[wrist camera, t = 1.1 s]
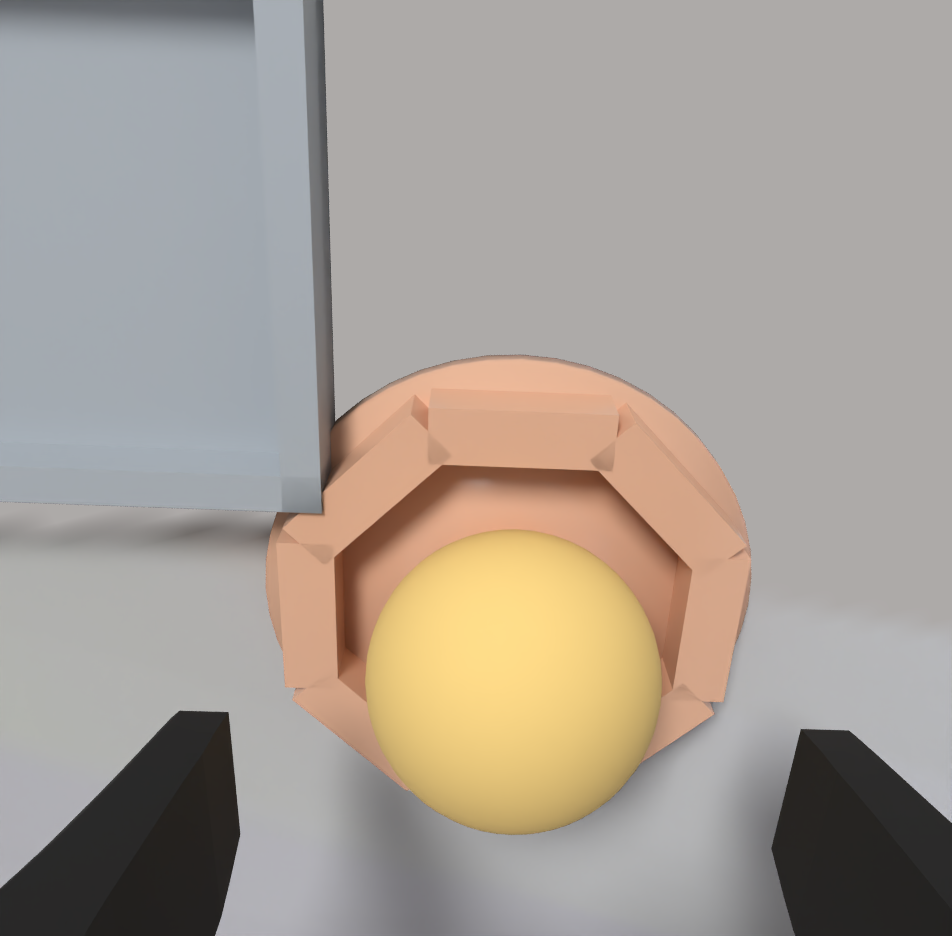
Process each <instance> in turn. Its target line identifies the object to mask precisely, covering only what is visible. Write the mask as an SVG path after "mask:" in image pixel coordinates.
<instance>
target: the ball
mask: <svg viewBox="0 0 952 936" xmlns="http://www.w3.org/2000/svg"><path fill="white" fill-rule="evenodd" d="M365 687H366V698H367V706H368V713H369V716H370V720H371V724H372V727H373V730H374V733H375V736H376V739H377V741H378V743H379V746H380V748H381V750H382V752H383V754H384V756H385V757H386V759H387V760H388V762H389V764H390V765H391V767H392V768H393V770H394V772H395V773H396V775H397V776H398V777H399V778H400V779H401V781H402V782H403V783H404V784H405V785H406V786H407V787H408V788H409V789H410V790H411V791H412V792H413V793H414V794H415V795H416V796H417V797H418V798H419V799H420V800H421V801H422V802H423V803H425V804H426V805H428V806H429V807H430V808H432V809H433V810H435V811H436V812H438V813H440V814H442V815H444V816H445V817H447V818H449V819H451V820H453V821H455V822H457V823H459V824H462V825H464V826H467V827H470V828H473V829H477V830H480V831H485V832H490V833H496V834H508V835H522V834H533V833H540V832H545V831H550V830H554V829H557V828H560V827H563V826H566V825H569V824H571V823H573V822H575V821H578V820H580V819H582V818H583V817H585V816H587V815H588V814H590V813H592V812H593V811H595V810H596V809H598V808H599V807H600V806H602V805H603V804H605V803H606V802H607V801H609V800H610V799H611V798H612V797H613V796H614V795H615V794H616V793H617V792H618V791H619V790H620V789H621V788H622V787H623V785H624V784H625V783H626V782H627V781H628V779H629V778H630V777H631V776H632V774H633V773H634V772H635V771H636V769H637V767H638V766H639V764H640V762H641V761H642V759H643V757H644V755H645V753H646V751H647V749H648V747H649V744H650V742H651V739H652V737H653V735H654V732H655V728H656V724H657V719H658V715H659V711H660V706H661V694H662V673H661V661H660V656H659V652H658V647H657V643H656V639H655V635H654V632H653V630H652V628H651V625H650V623H649V621H648V618H647V616H646V614H645V612H644V609H643V608H642V606H641V604H640V603H639V601H638V600H637V598H636V596H635V595H634V593H633V592H632V591H631V589H630V588H629V587H628V586H627V584H626V583H625V582H624V581H623V580H622V579H621V577H620V576H619V575H618V574H617V573H616V572H615V571H614V570H613V569H611V568H610V567H609V566H608V565H607V564H606V563H605V562H603V561H602V560H601V559H599V558H598V557H597V556H595V555H594V554H592V553H591V552H589V551H588V550H586V549H585V548H583V547H581V546H579V545H577V544H575V543H572V542H570V541H568V540H565V539H562V538H559V537H557V536H554V535H550V534H546V533H541V532H536V531H530V530H519V529H508V530H495V531H487V532H482V533H478V534H475V535H471V536H468V537H465V538H462V539H460V540H457V541H455V542H452V543H450V544H448V545H446V546H444V547H442V548H440V549H439V550H437V551H435V552H434V553H432V554H431V555H429V556H428V557H427V558H425V559H424V560H422V561H421V562H420V563H419V564H418V565H417V566H416V567H415V568H414V569H413V570H412V571H411V572H409V573H408V574H407V575H406V576H405V577H404V578H403V580H402V581H401V582H400V583H399V585H398V586H397V587H396V588H395V590H394V591H393V593H392V594H391V596H390V598H389V599H388V601H387V603H386V604H385V606H384V608H383V609H382V611H381V613H380V615H379V618H378V620H377V623H376V625H375V628H374V631H373V634H372V637H371V640H370V645H369V649H368V654H367V663H366V676H365Z"/></svg>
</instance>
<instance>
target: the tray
mask: <svg viewBox="0 0 952 936" xmlns="http://www.w3.org/2000/svg"><path fill="white" fill-rule="evenodd" d="M323 15H324V14H323V0H0V502H24V503H50V504H77V505H103V506H104V505H105V506H130V507H157V508H184V509H211V510H238V511H265V512H292V513H319V514H322V511H323V502H322V492H323V490H324V487H325V484H326V482H327V479H328V477H329V474H330V471H331V439H330V432H331V430H332V428H333V425H334V423H335V400H334V369H333V368H334V367H333V366H334V365H333V333H332V332H333V331H332V295H331V263H330V262H331V261H330V227H329V226H330V224H329V191H328V190H329V189H328V157H327V156H328V155H327V119H326V84H325V50H324V16H323Z"/></svg>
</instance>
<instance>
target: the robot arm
mask: <svg viewBox="0 0 952 936" xmlns="http://www.w3.org/2000/svg"><path fill="white" fill-rule="evenodd" d="M239 838H240V826H239V816H238V806H237V795H236V785H235V775H234V765H233V754H232V744H231V734H230V724H229V713H228V712H203V711H179V712H178V713H176V714H175V715H174V716H173V717H172V718H171V719H170V720H169V721H168V722H167V723H166V724H165V725H164V726H163V727H162V728H161V729H160V730H159V731H158V732H157V733H156V735H155V736H154V737H153V738H152V739H151V740H150V741H149V742H148V743H147V744H146V745H145V746H144V747H143V748H142V749H141V751H140V752H139V753H138V754H137V755H136V756H135V757H134V758H133V759H132V760H131V761H130V762H129V763H128V764H127V765H126V766H125V767H124V769H123V770H122V771H121V772H120V773H119V774H118V775H117V776H116V777H115V778H114V779H113V780H112V781H111V782H110V783H109V784H108V785H107V786H106V787H105V788H104V789H103V790H102V791H101V792H100V793H99V794H98V795H97V796H96V797H95V798H94V799H93V800H92V801H91V802H90V803H89V804H88V805H87V806H86V807H85V808H84V809H83V810H82V811H81V812H80V813H79V814H78V815H77V816H76V817H75V818H74V819H73V820H72V821H71V822H70V823H69V824H68V825H67V826H66V827H65V828H64V829H63V830H62V831H61V832H60V833H59V834H58V835H57V836H56V837H55V838H54V839H53V840H52V841H51V842H50V843H49V844H48V845H47V846H46V847H45V848H44V849H43V850H42V851H41V852H40V853H39V854H38V855H36V856H35V857H34V858H33V859H32V860H31V861H30V862H29V863H28V864H27V865H25V866H24V867H23V868H22V869H21V870H20V871H19V872H18V873H17V874H16V875H15V876H13V877H12V878H11V879H10V880H9V881H8V882H7V883H6V884H5V885H4V886H2V887H1V888H0V936H215V934H216V931H217V928H218V925H219V922H220V919H221V916H222V912H223V908H224V903H225V899H226V895H227V891H228V887H229V883H230V878H231V874H232V869H233V865H234V860H235V856H236V851H237V847H238V842H239ZM772 852H773V856H774V860H775V864H776V868H777V872H778V876H779V880H780V884H781V887H782V891H783V895H784V899H785V902H786V906H787V909H788V913H789V916H790V920H791V923H792V927H793V930H794V933H795V936H952V823H951V822H950V821H949V820H948V819H947V818H945V817H944V816H943V815H942V814H941V813H940V812H939V811H938V810H937V809H935V808H934V807H933V806H932V805H931V804H930V803H929V802H928V801H927V800H926V799H925V798H923V797H922V796H921V795H920V794H919V793H918V792H917V791H916V790H915V789H914V788H912V787H911V786H910V785H909V784H908V783H907V782H906V781H905V780H904V779H903V778H902V777H900V776H899V775H898V774H897V773H896V772H895V771H894V770H893V769H892V768H891V767H890V766H888V765H887V764H886V763H885V762H884V761H883V760H882V759H881V758H880V757H879V756H877V755H876V754H875V753H874V752H873V751H872V750H871V749H870V748H868V747H867V746H866V745H865V744H864V743H863V742H862V741H861V740H859V739H858V738H857V737H856V736H855V735H854V734H852V733H851V732H850V731H845V730H811V729H801V731H800V735H799V739H798V743H797V747H796V751H795V755H794V759H793V764H792V768H791V772H790V776H789V780H788V784H787V788H786V792H785V796H784V800H783V804H782V808H781V812H780V816H779V820H778V824H777V828H776V832H775V836H774V840H773V844H772Z"/></svg>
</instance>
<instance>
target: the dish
mask: <svg viewBox="0 0 952 936" xmlns="http://www.w3.org/2000/svg"><path fill="white" fill-rule="evenodd" d="M330 439H331V471H330V474H329V477H328V479H327V482H326V484H325V487H324V490H323V492H322V502H323V511H322V514H319V513H292V512H277V514H276V517H275V520H274V523H273V527H272V530H271V533H270V539H269V545H268V551H267V557H266V592H267V599H268V606H269V613H270V617H271V620H272V624H273V627H274V630H275V634H276V637H277V640H278V642H279V644H280V647H281V649H282V651H283V660H284V676H285V687H293V688H296V689H295V693H294V696H293V699H292V700H293V701H295V702H296V703H297V704H298V705H300V706H301V707H302V708H303V709H305V710H306V711H307V712H308V713H310V714H311V715H312V716H313V717H315V718H316V719H317V720H318V721H320V722H321V723H322V724H323V725H325V726H326V727H327V728H328V729H330V730H331V731H332V732H333V733H335V734H336V735H337V736H338V737H340V738H341V739H342V740H343V741H345V742H346V743H347V744H348V745H350V746H351V747H352V748H353V749H355V750H356V751H357V752H358V753H360V754H361V755H362V756H363V757H365V758H366V759H367V760H368V761H370V762H371V763H372V764H373V765H375V766H376V767H377V768H378V769H380V770H381V771H382V772H383V773H385V774H386V775H387V776H388V777H390V778H391V779H392V780H394V781H395V782H396V783H397V784H399V785H400V786H401V787H402V788H404V789H405V790H406V791H408V790H409V788H408V787H407V786H406V785H405V784H404V783H403V782H402V781H401V779H400V778H399V777H398V776H397V775H396V773H395V772H394V770H393V768H392V767H391V765H390V764H389V762H388V760H387V759H386V757H385V756H384V754H383V752H382V750H381V748H380V746H379V743H378V741H377V739H376V736H375V733H374V730H373V727H372V724H371V720H370V716H369V713H368V706H367V698H366V687H365V676H366V663H367V654H368V649H369V645H370V640H371V637H372V634H373V631H374V628H375V625H376V623H377V620H378V618H379V615H380V613H381V611H382V609H383V608H384V606H385V604H386V603H387V601H388V599H389V598H390V596H391V594H392V593H393V591H394V590H395V588H396V587H397V586H398V585H399V583H400V582H401V581H402V580H403V578H404V577H405V576H406V575H407V574H408V573H409V572H411V571H412V570H413V569H414V568H415V567H416V566H417V565H418V564H419V563H420V562H421V561H422V560H424V559H425V558H427V557H428V556H429V555H431V554H432V553H434V552H435V551H437V550H439V549H440V548H442V547H444V546H446V545H448V544H450V543H452V542H455V541H457V540H460V539H462V538H465V537H468V536H471V535H475V534H478V533H482V532H487V531H495V530H508V529H519V530H530V531H536V532H541V533H546V534H550V535H554V536H557V537H559V538H562V539H565V540H568V541H570V542H572V543H575V544H577V545H579V546H581V547H583V548H585V549H586V550H588V551H589V552H591V553H592V554H594V555H595V556H597V557H598V558H599V559H601V560H602V561H603V562H605V563H606V564H607V565H608V566H609V567H610V568H611V569H613V570H614V571H615V572H616V573H617V574H618V575H619V576H620V577H621V579H622V580H623V581H624V582H625V583H626V584H627V586H628V587H629V588H630V589H631V591H632V592H633V593H634V595H635V596H636V598H637V600H638V601H639V603H640V604H641V606H642V608H643V609H644V612H645V614H646V616H647V618H648V621H649V623H650V625H651V628H652V630H653V632H654V635H655V639H656V643H657V647H658V652H659V656H660V661H661V673H662V694H661V706H660V711H659V715H658V719H657V724H656V728H655V732H654V735H653V737H652V739H651V742H650V744H649V747H648V749H647V751H646V753H645V755H644V757H643V759H642V761H641V762H640V763H642V762H643V761H645V760H646V759H648V758H649V757H651V756H652V755H654V754H655V753H657V752H658V751H660V750H661V749H663V748H664V747H666V746H667V745H669V744H670V743H672V742H673V741H675V740H676V739H678V738H679V737H681V736H682V735H684V734H685V733H687V732H688V731H690V730H691V729H693V728H694V727H696V726H697V725H699V724H700V723H702V722H703V721H705V720H706V719H708V718H709V717H711V716H712V715H714V711H713V709H712V706H711V703H710V702H723V701H724V696H725V691H726V685H727V680H728V675H729V670H730V665H731V660H732V655H733V650H734V645H735V643H736V641H737V638H738V636H739V634H740V632H741V628H742V625H743V621H744V617H745V614H746V610H747V607H748V601H749V593H750V584H751V553H750V545H749V540H748V535H747V529H746V524H745V521H744V518H743V515H742V512H741V509H740V506H739V504H738V501H737V498H736V495H735V493H734V492H733V490H732V488H731V486H730V484H729V482H728V481H727V479H726V477H725V475H724V473H723V471H722V469H721V468H720V466H719V465H718V463H717V462H716V460H715V459H714V457H713V456H712V455H711V453H710V452H709V450H708V449H707V448H706V447H705V445H704V444H703V443H702V441H701V440H700V439H699V437H698V436H697V435H696V433H695V432H694V431H693V430H692V429H691V428H690V427H689V426H687V424H685V423H684V422H683V421H682V420H681V419H680V418H679V417H678V416H677V415H676V414H675V413H674V412H673V411H672V410H670V409H669V408H668V407H666V406H665V405H664V404H662V403H661V402H659V401H658V400H656V399H655V398H654V397H653V396H651V395H650V394H649V393H647V392H645V391H643V390H641V389H639V388H637V387H636V386H634V385H632V384H630V383H628V382H626V381H625V380H623V379H621V378H618V377H616V376H614V375H611V374H608V373H606V372H603V371H600V370H598V369H595V368H592V367H590V366H586V365H582V364H577V363H574V362H569V361H565V360H561V359H557V358H548V357H538V356H529V355H491V356H490V355H489V356H481V357H475V358H468V359H461V360H454V361H450V362H447V363H443V364H440V365H436V366H433V367H429V368H426V369H422V370H419V371H417V372H415V373H412V374H410V375H408V376H405V377H403V378H401V379H398V380H396V381H394V382H391V383H389V384H388V385H386V386H384V387H383V388H381V389H379V390H378V391H376V392H374V393H373V394H371V395H369V396H367V397H366V398H364V399H362V400H361V401H360V402H359V403H357V404H356V405H355V406H354V407H352V408H351V409H350V410H349V411H347V412H346V413H345V414H344V415H343V416H341V417H340V418H338V419H337V420H336V421H335V423H334V425H333V428H332V430H331V432H330Z"/></svg>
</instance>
